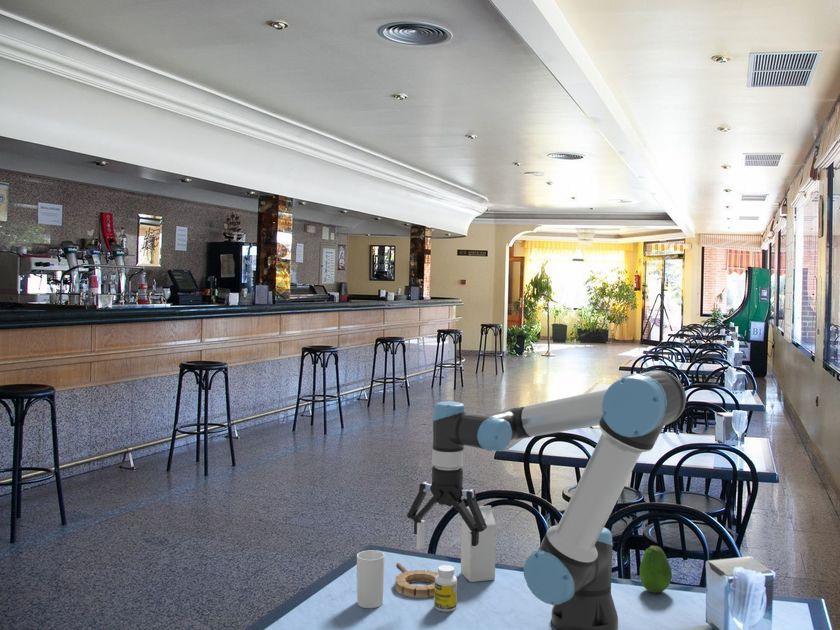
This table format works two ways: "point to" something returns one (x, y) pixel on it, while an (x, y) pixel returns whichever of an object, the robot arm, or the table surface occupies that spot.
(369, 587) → the mug
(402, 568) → the brown wooden stick
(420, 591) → the bead ring
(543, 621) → the table surface
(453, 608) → the supplement bottle
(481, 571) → the milk carton
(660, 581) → the fruit
